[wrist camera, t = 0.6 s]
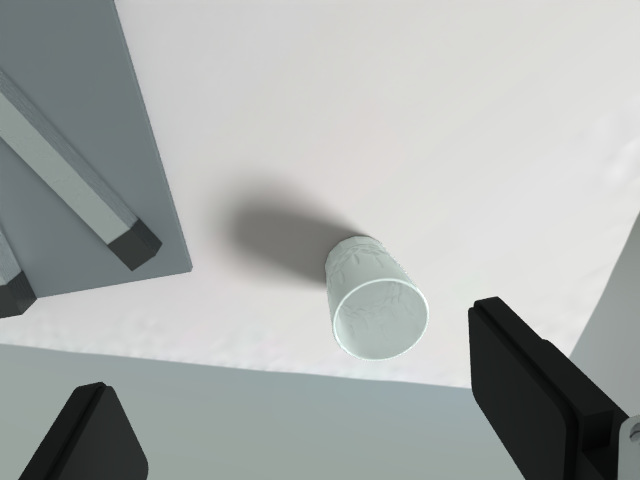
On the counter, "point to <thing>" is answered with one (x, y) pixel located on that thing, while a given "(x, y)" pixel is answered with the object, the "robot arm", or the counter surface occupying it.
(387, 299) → the white cup
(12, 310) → the bar
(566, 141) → the counter surface
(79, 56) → the slate board
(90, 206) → the moving tong arm
